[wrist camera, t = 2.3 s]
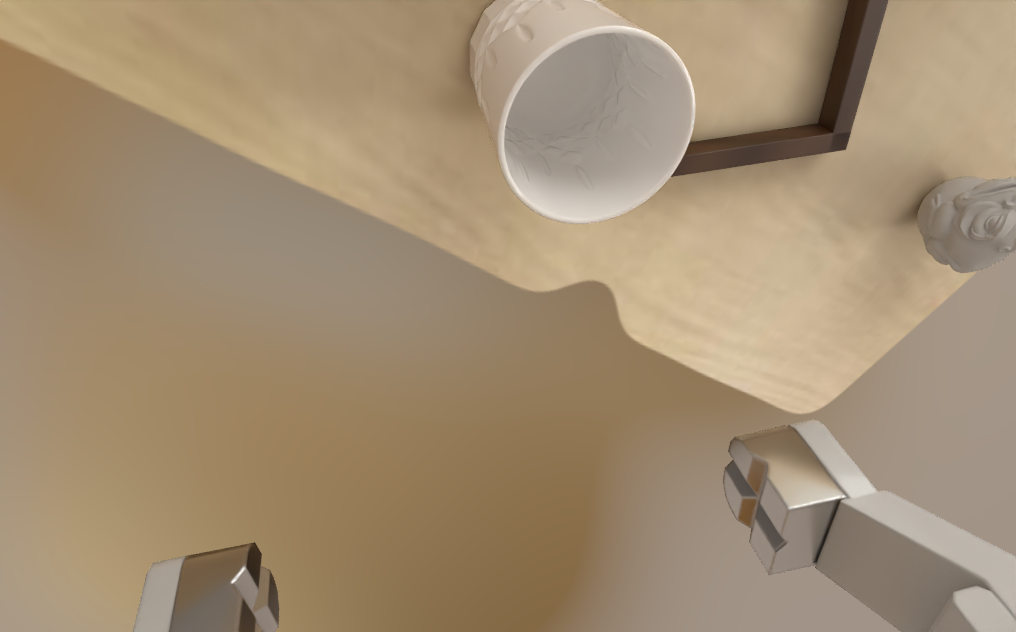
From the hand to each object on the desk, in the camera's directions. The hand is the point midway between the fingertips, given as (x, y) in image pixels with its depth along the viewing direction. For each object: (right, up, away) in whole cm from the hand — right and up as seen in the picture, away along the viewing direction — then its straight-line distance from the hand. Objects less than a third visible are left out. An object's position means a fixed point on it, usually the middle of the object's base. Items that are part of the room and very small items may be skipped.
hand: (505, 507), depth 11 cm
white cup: (+1, +16, +22) cm, 28 cm away
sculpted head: (+29, +11, +34) cm, 46 cm away
